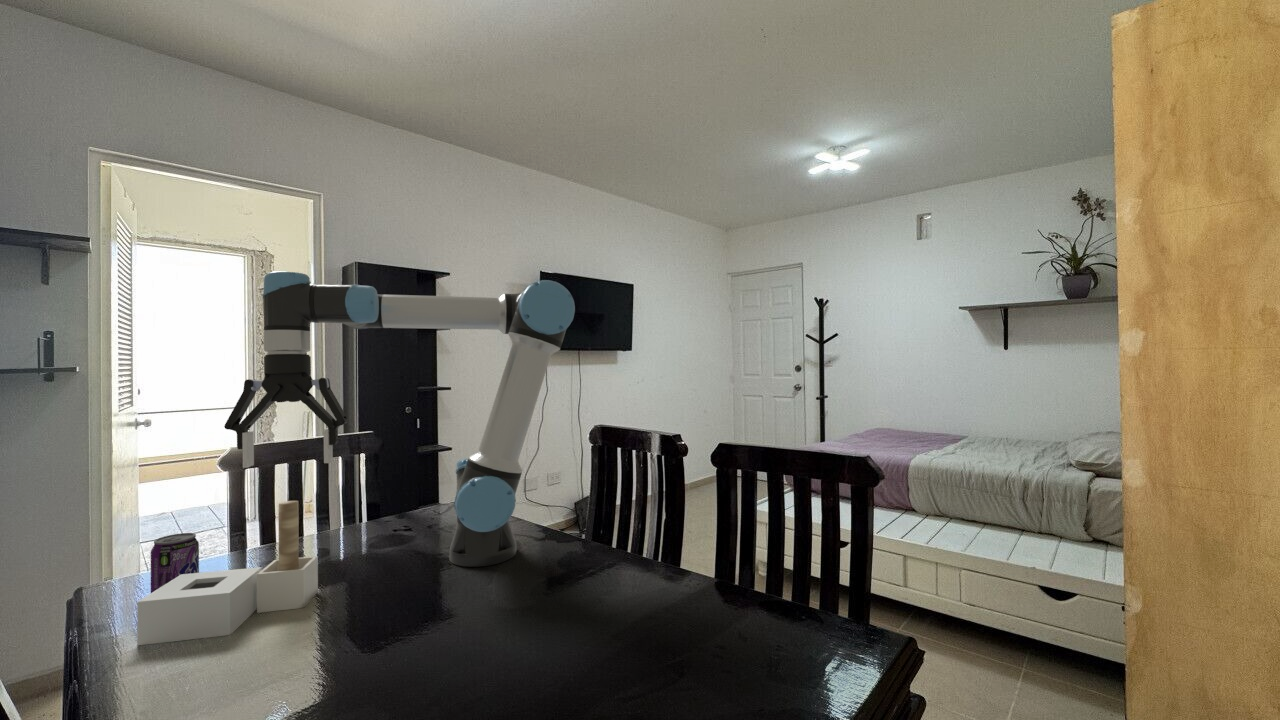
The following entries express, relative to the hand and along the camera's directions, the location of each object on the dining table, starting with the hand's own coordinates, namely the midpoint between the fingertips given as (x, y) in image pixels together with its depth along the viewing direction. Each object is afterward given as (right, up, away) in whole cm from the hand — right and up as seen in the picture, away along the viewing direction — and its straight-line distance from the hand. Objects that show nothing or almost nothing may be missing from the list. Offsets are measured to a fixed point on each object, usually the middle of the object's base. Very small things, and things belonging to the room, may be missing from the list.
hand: (289, 464), depth 103 cm
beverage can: (-23, -27, +1) cm, 35 cm away
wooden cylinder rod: (0, -25, 0) cm, 25 cm away
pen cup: (0, -26, 0) cm, 26 cm away
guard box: (-9, -26, -9) cm, 29 cm away
